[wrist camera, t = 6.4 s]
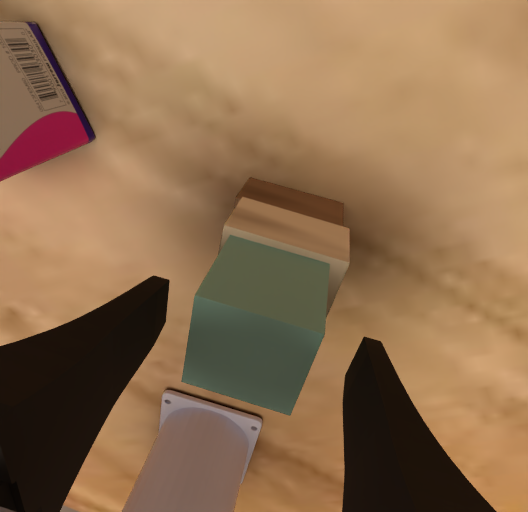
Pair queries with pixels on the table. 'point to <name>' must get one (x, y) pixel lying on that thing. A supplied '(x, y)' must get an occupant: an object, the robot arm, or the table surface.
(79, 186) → the table surface
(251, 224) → the tower top block
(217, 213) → the table surface
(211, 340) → the teal cube
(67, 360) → the robot arm
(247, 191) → the tower base block
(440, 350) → the table surface
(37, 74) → the supplement box
